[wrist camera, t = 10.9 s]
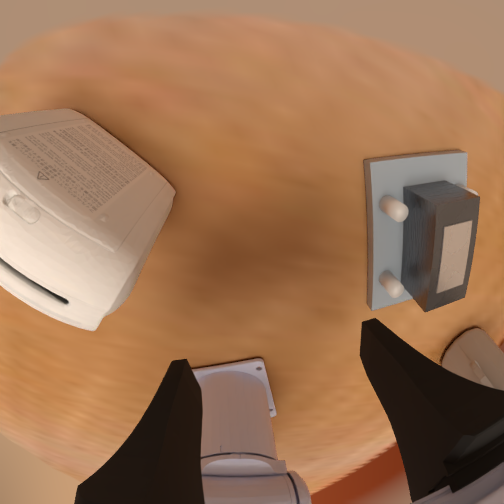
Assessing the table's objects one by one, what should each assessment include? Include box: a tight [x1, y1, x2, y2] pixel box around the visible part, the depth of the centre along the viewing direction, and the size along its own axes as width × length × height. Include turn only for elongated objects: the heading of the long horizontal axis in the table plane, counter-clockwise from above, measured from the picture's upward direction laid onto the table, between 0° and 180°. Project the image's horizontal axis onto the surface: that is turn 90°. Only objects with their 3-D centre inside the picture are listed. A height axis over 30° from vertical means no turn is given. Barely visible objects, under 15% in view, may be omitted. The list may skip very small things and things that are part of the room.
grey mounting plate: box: [364, 150, 478, 311], centre depth 20 cm, size 12×9×3 cm
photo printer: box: [0, 109, 176, 331], centre depth 12 cm, size 10×4×12 cm, turn 48°
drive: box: [400, 180, 480, 312], centre depth 19 cm, size 8×4×4 cm, turn 11°
